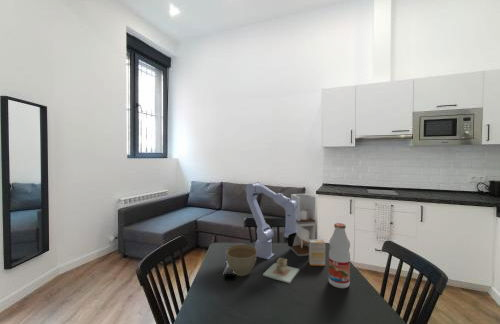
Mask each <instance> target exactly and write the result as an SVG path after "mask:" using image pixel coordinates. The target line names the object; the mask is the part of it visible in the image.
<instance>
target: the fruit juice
mask: <svg viewBox="0 0 500 324" xmlns="http://www.w3.org/2000/svg"><path fill="white" fill-rule="evenodd" d="M346 228H347V227H346V224H345V223H341V222H336V223H334V230H333V233H332V235H331V237H330V238H329V251H328V282H329V285H331V286H333V287H335V288H337V289H346V288H348V287H350V284H351V280H350V279H351V252H350V248H351V241H350V240H349V238H348V235H347V233H346Z"/></svg>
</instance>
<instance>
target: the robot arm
mask: <svg viewBox="0 0 500 324" xmlns="http://www.w3.org/2000/svg"><path fill="white" fill-rule="evenodd" d="M244 190H245V191H244V192H245V193H246V201H247V204H248V207H249V210H250V211H251V214H252V216H253V219H254V221H255V224H256V227H257V228H256V231H255V232H256V234H257V235H256V236H257V240H256V241H255V243H254V248H255V249H256V250H257V256H256V258H257V257H258V258H260V259H264V260H270V259H271V258H272V257H273V256H275V253H273V252H272V251H273V249H272V246H273V245H272V243H273V242H272V240H273V239H272V238H273V237H274V235H275V233H274V230H273V229H272V228H271V225H269V224H268V223H266V220H265V217H264V214H263V213H262V210H261V208H260V206H259V203H258V200H257V198H258V195H259V194H264V195H265V196H267V197H269V198H271V199H273V202H274V203H276V204H277V205H279V206H281V207H282V208H283V209H284V210H285V230H284V233H283V237H284V238H286V241H287V245H288V247H289V248H291V247H292V246H293V243H294V239H295V236H296V235H297V232H298V230H297V227H296V210H295V209H297V207H298V204H297V202H296V201H295V200H294V199H291V197H287V196H285V195H284V193H283V192H281V193H280V192H278V193H276V192H274V191H273V190H271V189H270V188H268V187H267V186H265V185H264V184H263V183H261V182H259V181H257V182H253V183H248V184H247V185H246V187H245V189H244Z"/></svg>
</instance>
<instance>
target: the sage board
mask: <svg viewBox="0 0 500 324" xmlns="http://www.w3.org/2000/svg"><path fill="white" fill-rule="evenodd" d="M299 272H300V269H299V268H296V267H292V266H288V265H287V271H286V272H285V274H282V273H278V272H277V262H274V263H272V264H271V266H269V268H267V269H266V270H265V272H263V273H262V276H263V277H266V278H270V279H272V280H277V281H281V282H283V283H287V284H291V282H292V281H293V280H294V278H295V277H296V276H297V274H298V273H299Z"/></svg>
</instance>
